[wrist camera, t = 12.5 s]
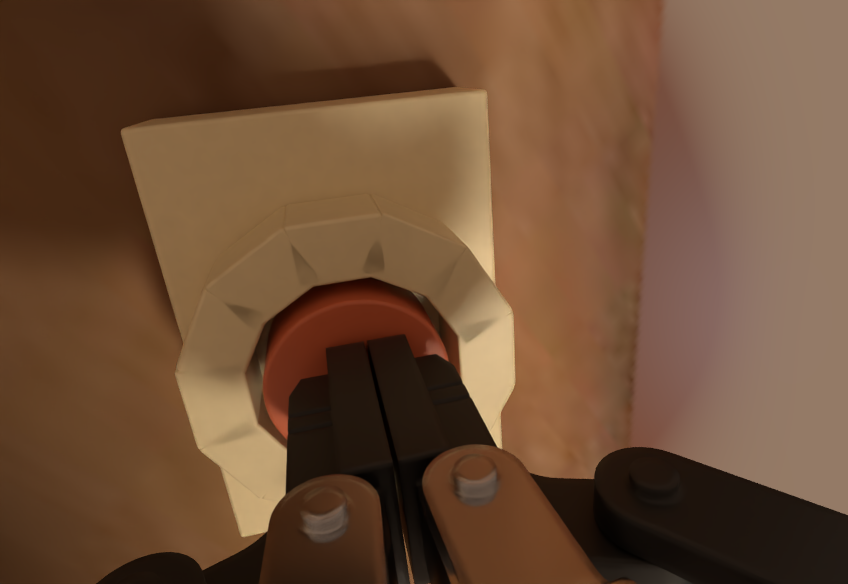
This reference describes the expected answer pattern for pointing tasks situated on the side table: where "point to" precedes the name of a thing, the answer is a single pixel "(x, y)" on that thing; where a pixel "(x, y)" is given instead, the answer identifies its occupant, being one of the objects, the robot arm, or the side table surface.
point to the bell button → (338, 333)
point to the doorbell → (317, 249)
